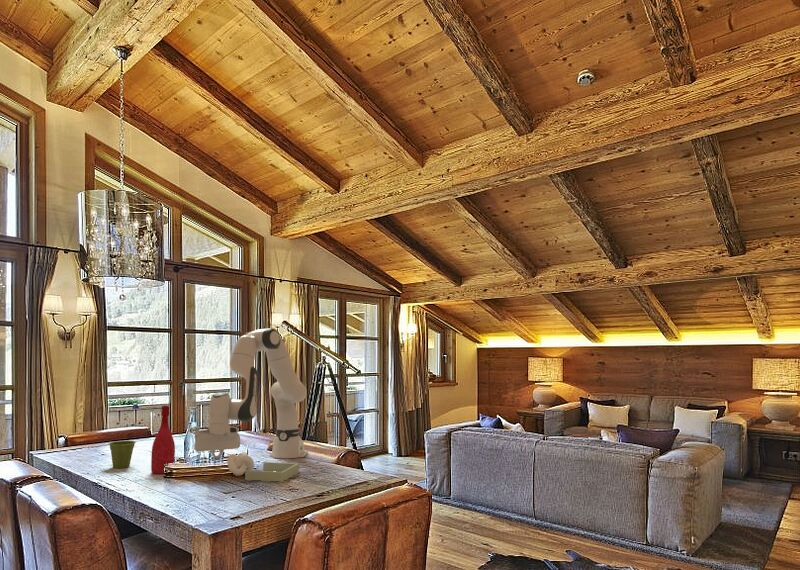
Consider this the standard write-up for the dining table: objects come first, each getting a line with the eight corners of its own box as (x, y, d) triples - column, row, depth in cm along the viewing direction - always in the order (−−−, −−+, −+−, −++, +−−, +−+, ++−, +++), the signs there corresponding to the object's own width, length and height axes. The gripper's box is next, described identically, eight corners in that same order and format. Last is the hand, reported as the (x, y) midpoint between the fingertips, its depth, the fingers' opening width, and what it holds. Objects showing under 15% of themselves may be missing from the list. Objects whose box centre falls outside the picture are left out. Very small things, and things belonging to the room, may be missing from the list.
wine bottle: (158, 475, 264) (161, 407, 267) (146, 472, 269) (149, 405, 272) (178, 472, 271) (181, 405, 274) (166, 469, 277) (169, 404, 280)
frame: (264, 470, 276) (264, 461, 276) (298, 472, 273) (299, 463, 273) (244, 480, 256) (245, 470, 257) (282, 482, 253) (282, 472, 254)
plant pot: (104, 466, 283) (105, 442, 284) (130, 463, 290) (131, 439, 291) (110, 470, 274) (112, 445, 275) (137, 467, 281) (139, 443, 282)
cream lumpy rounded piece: (238, 478, 260) (239, 457, 261) (219, 475, 266) (219, 454, 267) (257, 473, 270) (257, 453, 271) (237, 470, 276) (238, 451, 276)
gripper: (197, 431, 263) (195, 463, 262) (242, 428, 274) (240, 459, 273) (193, 429, 268) (191, 460, 267) (237, 427, 280) (236, 457, 278)
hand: (216, 460), depth 270 cm, fingers closed
